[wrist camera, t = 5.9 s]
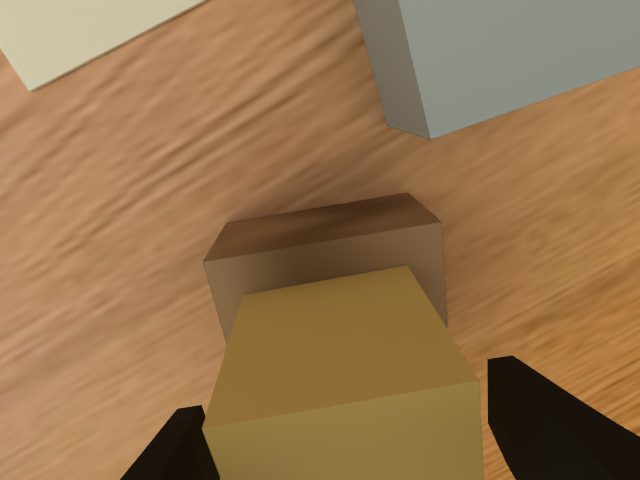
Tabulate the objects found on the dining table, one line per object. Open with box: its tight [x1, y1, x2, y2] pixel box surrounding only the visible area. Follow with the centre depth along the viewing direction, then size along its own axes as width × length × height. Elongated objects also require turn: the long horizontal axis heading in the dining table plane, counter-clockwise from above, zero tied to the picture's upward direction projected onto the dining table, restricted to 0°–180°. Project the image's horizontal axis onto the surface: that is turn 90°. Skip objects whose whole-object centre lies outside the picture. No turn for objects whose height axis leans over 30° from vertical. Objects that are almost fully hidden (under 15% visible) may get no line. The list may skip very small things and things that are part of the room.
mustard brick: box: [202, 265, 484, 480], centre depth 10 cm, size 5×5×5 cm
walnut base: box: [203, 193, 447, 346], centre depth 14 cm, size 7×7×4 cm
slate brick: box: [353, 0, 640, 139], centre depth 10 cm, size 5×5×5 cm
